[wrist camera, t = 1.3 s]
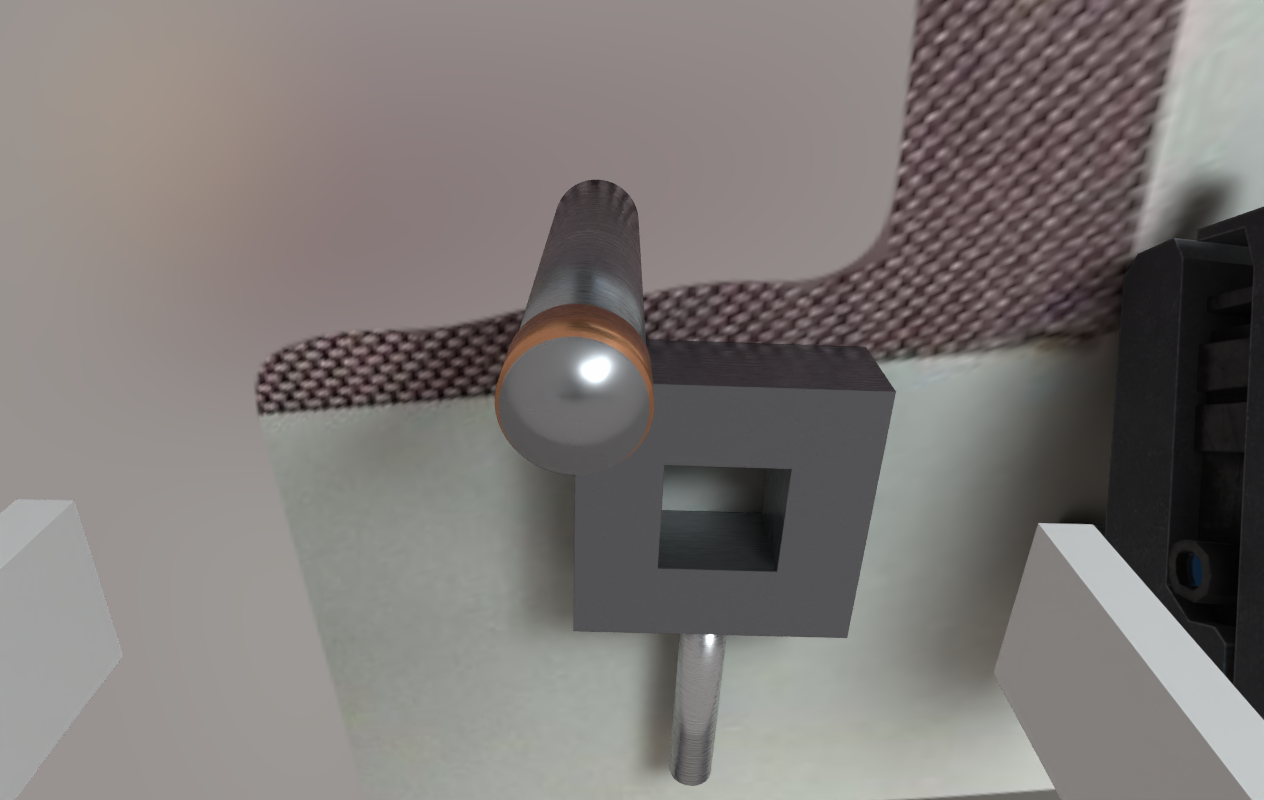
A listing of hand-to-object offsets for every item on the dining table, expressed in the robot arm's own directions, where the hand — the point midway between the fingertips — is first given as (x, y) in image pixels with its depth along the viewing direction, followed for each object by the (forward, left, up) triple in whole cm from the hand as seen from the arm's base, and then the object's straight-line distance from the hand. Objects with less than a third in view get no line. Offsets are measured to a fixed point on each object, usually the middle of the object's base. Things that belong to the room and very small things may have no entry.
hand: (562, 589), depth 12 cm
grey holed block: (+15, +5, -20) cm, 26 cm away
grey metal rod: (0, 0, -20) cm, 20 cm away
